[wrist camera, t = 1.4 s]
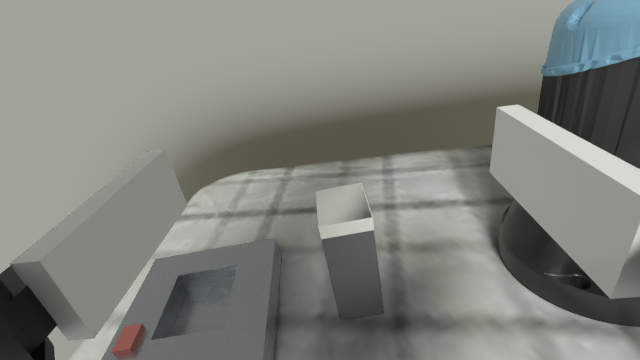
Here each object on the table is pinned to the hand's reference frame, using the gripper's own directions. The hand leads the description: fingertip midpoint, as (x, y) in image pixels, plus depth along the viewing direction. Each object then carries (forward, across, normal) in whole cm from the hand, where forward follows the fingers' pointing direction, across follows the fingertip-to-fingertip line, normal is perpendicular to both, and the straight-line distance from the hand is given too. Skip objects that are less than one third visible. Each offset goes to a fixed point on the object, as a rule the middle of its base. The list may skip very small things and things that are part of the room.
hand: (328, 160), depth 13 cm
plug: (+11, 0, -20) cm, 23 cm away
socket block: (+10, -14, -20) cm, 27 cm away
